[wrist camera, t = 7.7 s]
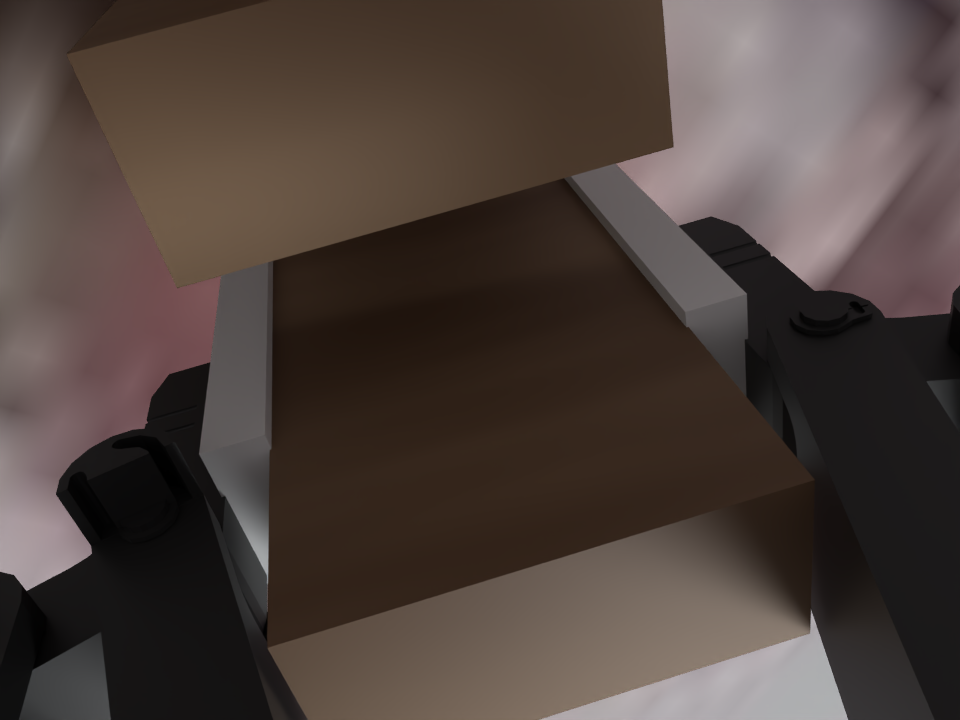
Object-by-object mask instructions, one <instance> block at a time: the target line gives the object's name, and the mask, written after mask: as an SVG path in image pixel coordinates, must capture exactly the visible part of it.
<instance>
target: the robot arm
mask: <svg viewBox="0 0 960 720" xmlns="http://www.w3.org/2000/svg"><path fill="white" fill-rule="evenodd" d="M564 179H565V180H566V181H567V182H568V184H569V185H570V186H571V187H572V188H573V190H574V191H575V192H576V193H577V195H578V196H579V197H580V198H581V199H582V201H583V202H584V203H585V204H586V206H587V207H588V208H589V209H590V210H591V212H592V213H593V214H594V215H595V216H596V218H597V219H598V220H599V221H600V223H601V224H602V225H603V226H604V227H605V229H606V230H607V231H608V232H609V234H610V235H611V236H612V237H613V238H614V240H615V241H616V242H617V243H618V245H619V246H620V247H621V248H622V249H623V251H624V252H625V253H626V254H627V256H628V257H629V258H630V259H631V260H632V262H633V263H634V264H635V265H636V267H637V268H638V269H639V270H640V271H641V273H642V274H643V275H644V276H645V277H646V279H647V280H648V281H649V282H650V284H651V285H652V286H653V287H654V288H655V290H656V291H657V292H658V293H659V295H660V296H661V297H662V298H663V299H664V301H665V302H666V303H667V304H668V306H669V307H670V308H671V309H672V310H673V312H674V313H675V314H676V315H677V317H678V318H679V319H680V320H681V321H682V323H683V324H684V325H685V326H686V327H689V328H690V329H691V330H692V332H693V333H694V334H695V335H696V337H697V338H698V339H699V340H700V341H701V343H702V344H703V345H704V346H705V347H706V349H707V350H708V351H709V352H710V353H711V355H712V356H713V357H714V358H715V360H716V361H717V362H718V363H719V364H720V366H721V367H722V368H723V369H724V370H725V372H726V373H727V374H728V375H729V376H730V378H731V379H732V380H733V381H734V383H735V384H736V385H737V386H738V387H739V389H740V390H741V391H742V392H743V393H744V395H745V396H746V397H747V398H748V399H749V401H750V402H751V403H752V404H753V406H754V407H755V408H756V409H757V410H758V412H759V413H760V414H761V415H762V416H763V418H764V419H765V420H766V421H767V422H768V424H769V425H770V426H771V427H772V428H773V430H774V431H775V432H776V433H777V435H778V436H779V437H780V438H781V439H782V441H783V442H784V443H785V444H786V445H787V447H788V448H789V449H790V450H791V451H792V453H793V454H794V455H795V456H796V458H797V459H798V460H799V461H800V462H801V464H802V465H803V466H804V467H805V468H806V470H807V471H808V472H809V473H810V474H811V476H812V477H813V478H814V479H815V492H814V524H813V556H812V587H811V610H812V613H813V616H814V619H815V622H816V625H817V628H818V631H819V634H820V637H821V640H822V643H823V646H824V649H825V652H826V655H827V658H828V661H829V664H830V666H831V669H832V672H833V675H834V678H835V681H836V684H837V687H838V690H839V693H840V696H841V699H842V702H843V705H844V708H845V711H846V714H847V717H848V720H960V286H959V287H958V288H957V289H956V290H955V291H954V293H953V297H952V304H951V312H950V314H939V315H928V316H916V317H905V318H885V317H884V315H883V314H882V312H881V311H880V310H879V309H878V308H877V307H876V306H875V305H873V304H872V303H871V302H870V301H868V300H866V299H863V298H861V297H859V296H856V295H854V294H850V293H844V292H837V291H831V290H829V291H814V290H813V289H812V288H810V287H809V286H808V285H807V284H806V283H805V282H803V281H802V280H801V279H800V278H799V277H798V276H796V275H795V274H794V273H793V272H792V271H791V270H789V269H788V268H787V267H786V266H785V265H784V264H783V263H781V262H780V261H779V260H778V259H777V258H776V257H774V256H772V257H771V255H770V252H769V251H767V250H766V249H765V248H764V247H763V246H762V245H760V244H757V243H756V240H755V239H753V238H752V237H751V236H750V235H749V234H748V233H746V232H745V231H744V230H743V229H742V228H741V227H740V226H738V225H735V224H732V223H729V222H726V221H723V220H720V219H717V218H714V217H708V218H704V219H701V220H697V221H694V222H690V223H687V224H683V225H680V226H678V225H677V224H676V223H675V222H674V221H673V220H672V219H671V218H670V217H669V216H668V215H667V214H666V213H665V212H664V211H663V210H662V209H661V208H660V207H659V206H658V205H657V204H656V203H655V202H654V201H653V200H652V199H651V198H650V197H649V196H648V195H647V194H645V193H644V192H643V191H642V190H641V189H640V188H639V187H638V186H637V185H636V184H635V183H634V182H633V181H632V180H631V179H630V178H629V177H628V176H627V175H626V174H625V173H624V172H623V171H622V170H621V169H620V168H619V167H618V166H617V165H616V164H612V165H609V166H605V167H602V168H598V169H595V170H591V171H588V172H584V173H581V174H577V175H574V176H570V177H566V178H564ZM272 323H273V261H271V262H267V263H264V264H260V265H257V266H253V267H250V268H246V269H243V270H239V271H236V272H232V273H229V274H225V275H222V276H221V281H220V290H219V298H218V306H217V314H216V322H215V330H214V338H213V346H212V354H211V362H210V363H207V364H203V365H200V366H196V367H193V368H189V369H186V370H182V371H179V372H175V373H172V374H169V375H168V377H167V378H166V379H165V381H164V382H163V383H162V384H161V386H160V387H159V388H158V390H157V391H156V392H155V394H154V395H153V396H152V398H151V402H150V407H149V412H148V416H147V421H148V423H147V424H146V425H145V429H136V430H131V431H128V432H125V433H122V434H119V435H115V436H112V437H110V438H108V439H106V440H105V441H103V442H101V443H99V444H97V445H95V446H93V447H92V448H90V449H89V450H87V451H86V452H85V453H84V454H82V455H81V456H80V457H79V458H78V459H76V460H75V461H74V462H73V463H72V464H71V465H70V466H69V468H68V469H67V470H66V472H65V473H64V474H63V476H62V477H61V478H60V480H59V484H58V488H57V492H56V495H57V497H58V498H59V499H60V501H61V502H62V504H63V505H64V507H65V508H66V510H67V511H68V513H69V514H70V516H71V517H72V519H73V520H74V521H75V523H76V524H77V526H78V527H79V529H80V530H81V532H82V533H83V535H84V536H85V538H86V539H87V541H88V542H89V543H90V545H91V547H92V554H91V555H90V556H89V557H87V558H86V559H84V560H83V561H81V562H79V563H78V564H76V565H74V566H73V567H71V568H69V569H68V570H66V571H64V572H62V573H60V574H58V575H56V576H54V577H52V578H51V579H49V580H47V581H45V582H43V583H41V584H39V585H37V586H35V587H33V588H32V589H30V590H28V591H26V590H25V589H24V587H23V586H22V585H21V584H20V582H19V581H18V580H17V578H16V577H15V576H14V575H11V574H7V573H3V572H0V720H308V719H307V717H306V716H305V714H304V712H303V710H302V709H301V707H300V705H299V703H298V702H297V700H296V698H295V696H294V694H293V693H292V691H291V689H290V687H289V686H288V684H287V682H286V680H285V679H284V677H283V675H282V673H281V671H280V670H279V668H278V666H277V664H276V663H275V661H274V659H273V657H272V656H271V654H270V652H269V650H268V648H267V626H268V612H267V584H268V541H269V456H270V449H271V446H272Z"/></svg>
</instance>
